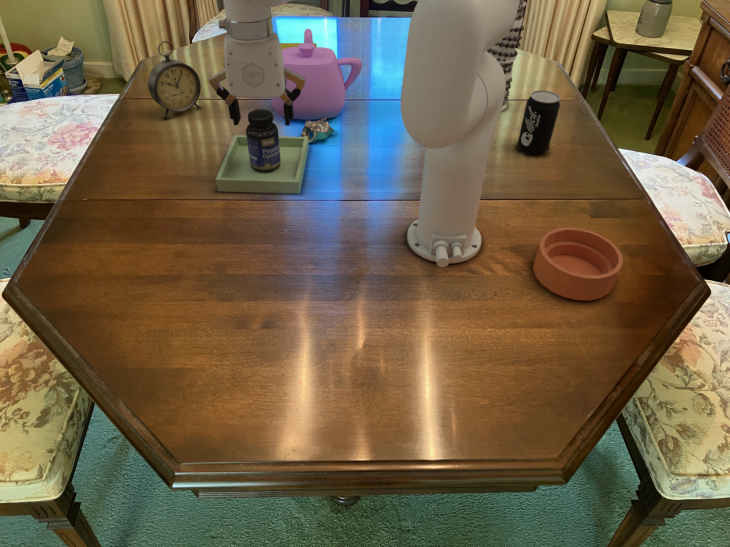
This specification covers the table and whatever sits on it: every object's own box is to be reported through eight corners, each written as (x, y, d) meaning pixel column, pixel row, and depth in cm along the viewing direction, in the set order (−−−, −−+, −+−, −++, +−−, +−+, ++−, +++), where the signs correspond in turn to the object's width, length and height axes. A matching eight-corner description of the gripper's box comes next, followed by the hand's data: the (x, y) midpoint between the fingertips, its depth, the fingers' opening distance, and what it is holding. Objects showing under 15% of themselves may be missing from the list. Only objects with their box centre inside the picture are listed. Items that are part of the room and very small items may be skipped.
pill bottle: (267, 176, 108) (261, 124, 100) (243, 167, 110) (236, 116, 103) (287, 163, 111) (283, 112, 104) (263, 155, 114) (258, 104, 106)
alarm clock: (163, 123, 125) (145, 50, 114) (152, 114, 128) (134, 43, 117) (206, 109, 130) (193, 39, 119) (195, 101, 133) (181, 32, 122)
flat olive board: (227, 66, 150) (316, 66, 151) (226, 58, 149) (315, 58, 150) (233, 50, 159) (316, 50, 160) (232, 42, 158) (316, 43, 159)
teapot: (362, 125, 126) (363, 59, 116) (269, 125, 125) (262, 58, 115) (359, 84, 143) (360, 24, 133) (278, 84, 142) (272, 23, 132)
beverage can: (548, 158, 116) (563, 104, 108) (516, 154, 117) (529, 101, 109) (547, 143, 121) (561, 91, 113) (516, 140, 122) (528, 87, 114)
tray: (299, 193, 104) (298, 182, 103) (217, 191, 104) (215, 179, 103) (308, 147, 118) (308, 136, 116) (235, 145, 118) (234, 134, 116)
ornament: (319, 125, 125) (319, 110, 123) (340, 136, 122) (340, 120, 119) (292, 136, 121) (291, 121, 119) (312, 148, 117) (312, 132, 115)
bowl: (623, 303, 84) (634, 279, 80) (542, 301, 84) (550, 276, 81) (599, 251, 93) (608, 228, 90) (525, 249, 93) (532, 226, 90)
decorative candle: (506, 97, 139) (528, -11, 122) (510, 113, 132) (533, 1, 115) (469, 95, 139) (486, -13, 123) (471, 111, 132) (489, -1, 116)
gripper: (193, 34, 90) (212, 131, 101) (299, 35, 90) (306, 132, 101) (204, 20, 96) (221, 113, 107) (303, 21, 96) (310, 114, 107)
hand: (262, 122), depth 104 cm, fingers open, 9 cm apart
